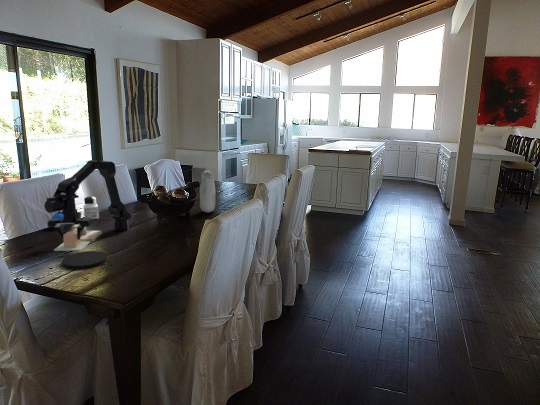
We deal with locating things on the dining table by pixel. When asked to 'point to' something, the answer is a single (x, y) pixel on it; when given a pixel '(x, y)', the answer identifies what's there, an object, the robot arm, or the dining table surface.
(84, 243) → the mat
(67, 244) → the salmon pink cube
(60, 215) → the ornament
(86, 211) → the container
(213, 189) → the white tall cylinder
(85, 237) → the post base
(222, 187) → the dining table surface
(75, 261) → the wireless charger
